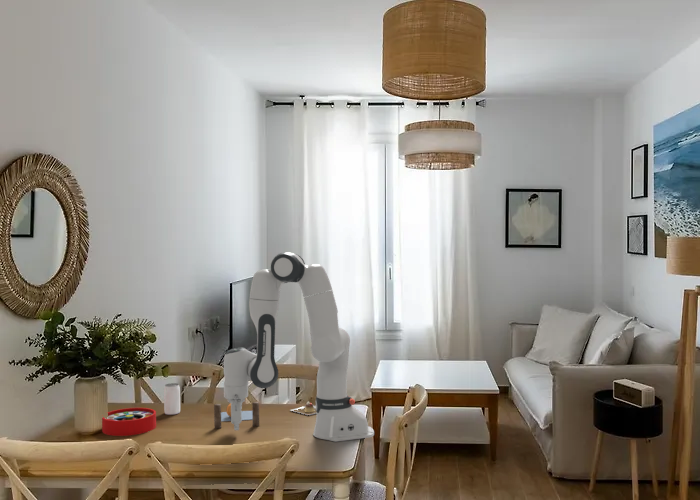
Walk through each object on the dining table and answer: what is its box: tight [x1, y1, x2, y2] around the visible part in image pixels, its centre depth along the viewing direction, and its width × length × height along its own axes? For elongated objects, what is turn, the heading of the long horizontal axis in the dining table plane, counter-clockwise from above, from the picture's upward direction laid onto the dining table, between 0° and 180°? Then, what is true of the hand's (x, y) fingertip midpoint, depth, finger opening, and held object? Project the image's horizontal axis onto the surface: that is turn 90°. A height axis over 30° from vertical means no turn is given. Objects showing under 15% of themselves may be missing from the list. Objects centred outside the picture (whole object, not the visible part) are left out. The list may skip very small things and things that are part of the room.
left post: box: [213, 403, 222, 430], centre depth 264 cm, size 3×3×9 cm
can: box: [163, 382, 181, 416], centre depth 287 cm, size 6×6×12 cm
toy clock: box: [101, 407, 157, 437], centre depth 265 cm, size 20×6×20 cm
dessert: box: [289, 400, 317, 416], centre depth 288 cm, size 12×12×5 cm
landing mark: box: [221, 410, 253, 423], centre depth 281 cm, size 14×14×1 cm
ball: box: [225, 403, 231, 417], centre depth 279 cm, size 6×6×6 cm
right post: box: [251, 401, 260, 428], centre depth 266 cm, size 3×3×9 cm
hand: (236, 429), depth 252 cm, fingers closed
